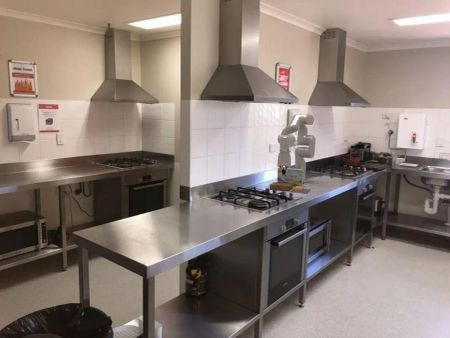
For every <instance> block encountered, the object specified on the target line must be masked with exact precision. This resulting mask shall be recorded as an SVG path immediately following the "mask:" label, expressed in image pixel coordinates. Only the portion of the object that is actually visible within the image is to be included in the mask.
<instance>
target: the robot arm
mask: <svg viewBox="0 0 450 338" xmlns="http://www.w3.org/2000/svg"><path fill="white" fill-rule="evenodd" d="M314 123H315V117H314V115H312V114H308V113H296V114H294V115H293V116H292V117H291V120H290V122H289V125H287V126H285V127H284V128H283V129H281V130H280V132H279V134H278V136H277V143H278V144H279V152H278V155H277V165H276V166H277V168H279V167H280V168H281V169H282V175H283V174H284V175H285V174H286V169H287V168H291V167H292V166H291V164H292V158H291V157H292V156H291V153H292V150H290V145H294V144H295V143H296V142H297V145H298V146H297V147H296V148H295V147H294V168H295V169H303V184H305V183H308V181H307V180H306V170H307V169H306V168H307V167H306V166H307V161H306V160H305V159H313V158H314V157H315V152H316V137H315V135H312V134H308V132H309V131H308V126H309V125H310V126H311V125H313V124H314ZM294 133H297V135H296V136H297V137H296V136H295V135H292V134H294ZM296 138H297V139H296ZM305 146H306V147H305ZM283 167H284V168H283Z"/></svg>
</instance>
